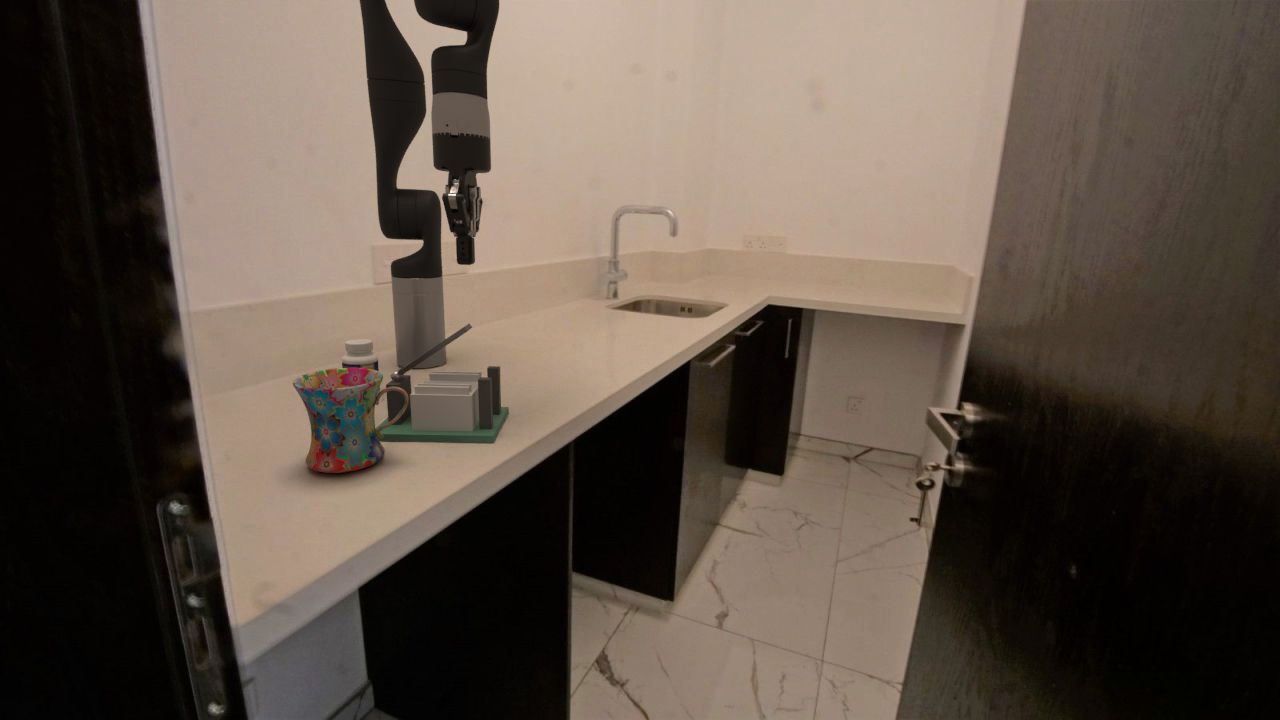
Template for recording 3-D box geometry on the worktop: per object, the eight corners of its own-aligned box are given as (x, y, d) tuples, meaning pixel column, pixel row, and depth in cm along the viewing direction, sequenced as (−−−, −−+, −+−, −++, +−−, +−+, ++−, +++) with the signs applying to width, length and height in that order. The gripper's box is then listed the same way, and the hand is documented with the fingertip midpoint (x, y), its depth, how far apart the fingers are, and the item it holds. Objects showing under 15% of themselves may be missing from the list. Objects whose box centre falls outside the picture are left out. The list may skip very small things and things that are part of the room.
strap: (401, 376, 82) (396, 370, 82) (473, 328, 81) (468, 322, 81) (393, 381, 80) (389, 375, 79) (468, 332, 78) (463, 326, 78)
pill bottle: (366, 400, 93) (362, 346, 90) (337, 397, 94) (332, 343, 91) (387, 391, 98) (383, 339, 96) (359, 388, 99) (355, 337, 97)
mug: (290, 482, 65) (280, 390, 62) (315, 450, 73) (307, 368, 71) (406, 475, 67) (400, 387, 65) (417, 445, 76) (412, 366, 74)
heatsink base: (401, 411, 88) (398, 360, 86) (508, 413, 89) (507, 362, 87) (369, 440, 77) (365, 382, 75) (493, 443, 78) (491, 385, 76)
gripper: (446, 140, 85) (451, 260, 89) (417, 125, 72) (424, 267, 76) (498, 142, 85) (501, 262, 89) (478, 127, 72) (482, 268, 76)
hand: (466, 264), depth 83 cm, fingers closed
